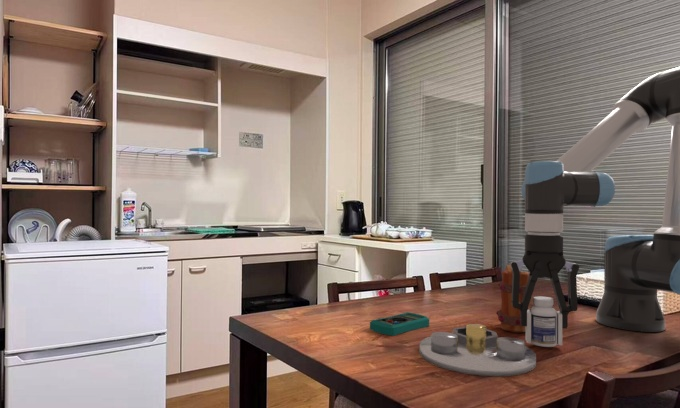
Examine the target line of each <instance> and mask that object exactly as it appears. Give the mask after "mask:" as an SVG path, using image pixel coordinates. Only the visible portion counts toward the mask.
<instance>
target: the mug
mask: <svg viewBox="0 0 680 408" xmlns="http://www.w3.org/2000/svg"><path fill="white" fill-rule="evenodd" d="M519 272H520V284H519V303H521V301H522V298H523V295H524V291H525V288H526V285H527V282H528V277H529V274H530V272H528V271H522V270H521V271H519ZM512 274H513V271H512V269H511V266H510V264H506V266H505V270H503V271H502V275H501V276H502V278H501V281H500V282H499V283H498V285H497V286H498V287H499V290H500V293H501V294H500V296H501V309H499V310H497V311H496V312H495V313H496V315H497V317H498V319H497V320H498V321H499V322H500V328H501V329H502V330H503V331H506V332H508V333H509V332H510V333H515V334H516V333H517V334H519V333H520V334H522V333H525V326H522V325H521V323H520V310H519V309H517V308H514V307H513V306H512V304H511V299H512ZM534 291H535V289H534V290H533V292H534ZM530 303H531V302H530ZM530 303H529V307H528V310H530Z"/></svg>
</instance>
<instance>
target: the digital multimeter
mask: <svg viewBox="0 0 680 408" xmlns="http://www.w3.org/2000/svg"><path fill="white" fill-rule="evenodd" d="M428 327H430V318H429V317H428V316H426V315H422V314H418V313H414V312H413V313H412V312H402V313H399V314H395V315H391V316H386V317H382V318H377V319H372V320H371V321H369V330H370V331H372V332H375V333H378V334H380V335H381V334H382V335H387V336H389V337H390V336H391V337H395V336H397V335H401V334H405V333H407V332H411V331H415V330H419V329H424V328H428Z"/></svg>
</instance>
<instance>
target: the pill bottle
mask: <svg viewBox="0 0 680 408" xmlns="http://www.w3.org/2000/svg"><path fill="white" fill-rule="evenodd" d="M532 298H533V300H532V301H533V303H532V304H533V306H532V307H531V308H529V310H530V312H531V343H530V344H532V345H534V346H538V347H544V348H552V347H556V346H558V344H557V310H556V309H555V308H554V307H553V306H554V305H555V303H554V302H555V301H554V298H553V297H550V296H540V295H539V296H533V297H532Z"/></svg>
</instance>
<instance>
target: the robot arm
mask: <svg viewBox="0 0 680 408" xmlns="http://www.w3.org/2000/svg"><path fill="white" fill-rule="evenodd" d="M662 120H663V121H666V122H667V123H668V124H669V125H670V126H671V137H670V148H669V155H668V156H669V157H668V167H667V177H666V185H665V195H664V196H665V197H664V205H663V213H662V214H663V215H662V221H661V222H662V223H661V227H659V228H658V229H656V230H655V231H654V232H653V233H652V234H627V235H614V236H610V237H608V238H607V239H606V240H605V248H604V251H603V252H604V253H603V254H604V255H603V256H604V257H603V258H604V259H603V260H604V262H603V263H604V264H603V266H604V267H603V268H604V270H603V271H604V272H603V273H604V280H603V281H604V282H603V283H604V286H603V287H604V290H603V295H602V298H601V300H600V303H599V305H598V307H597V310H596V312H595V314H596V315H595V317H596V318H595V320H596V322H597V323H598V324H601V325H603V326H607V327H609V328H613V329H619V330H625V331H631V332H644V333H645V332H647V333H657V332H663V331H665V330H666V319H665V317H664V313H663V311H662V307H661V305H660V302H659V299H658V291H662V292H668V293H672V294H676V295H679V296H680V66H678V67H675V68H671V69H667V70H664V71H660V72H657V73H655V74H653V75H651V76H649V77H648V78H646V79H644V80H643V81H642V82H640V83H639V84H638V85H636V86H635V87H634V88H632V89H631V90H630V91H628V92H627V93H626V94H625V95H624V96H623V97H621V98H620V99H619V100H618V101H616V103H615V104H613V105H612V109H611V112H610V113H609V114H608V115H607V116H606V117H605V118H603V119H602V120H601V121H600V122H599V123H597V125H595V126H594V127H593V128H592V129H591V130H589V132H588V133H586V134H585V135H584V136H583V137H582V138H581V139H580V140H578V141H576V143H575V144H574V145H573V146H572V147H570V148H569V149H568V150H567V151H566V152H565V153H563V154H562V155H561V156H560V157H559V158H558V159H556V160H539V161H538V160H537V161H532V162H528V163H527V165H526V166H525V171H524V180H523V181H524V182H523V183H522V185H521V191H520V192H521V197H522V198H523V201H524V210H525V211H524V212H525V213H524V214H525V215H524V231H525V232H526V233H527V234H525V235H524V254H523V257H522V258H521V259H519V260H515V261H514V260H512V261H511V260H510V262H509V265H510V266H511V269H512V271H513V274H512V299H511V304H512V306H513V307H514V308H517V309H519V310H520V323H521V325H522V326H525V332H524V333H525V338H524V339H525V340H524V341H526V343H527V344H532V343H531V312H530V309H529V310H528V307H529V308H530V305H529V303H531V300H532V298H533V297H532V296H533V293H534V291H535V286H536V283H537V281H538V279H539V278H540V279H542V278H546V279H547V278H548V279H550V282H551V285H552V289H553V291H554V294H555V298H556V302H557V305H558V309H559V310H558V311H557V310H556V311H557V346H563V329H565V330H567V328H568V326H569V325H568V322H569V320H568V319H569V318H568V317H569V316H568V315H569V314H570V312H577V311H578V308H579V307H578V286H577V279H578V278H577V276H578V272H579V269H580V266H579V264H577V263H575V262H570V261H567V260H566V258H565V256H564V236H563V235H561V234H562V233H563V232H564V207H592V208H595V207H600V206H601V207H602V206H606V205H608V204H610V203H611V201H612V200H614V199H613V198H614V197H615V194H616V191H615V190H616V188H615V187H616V184H615V181H614V178H612V176H610V175H609V174H608V173H605V172H599V171H598V172H597V171H595V170H594V169H595V168H596V167H598V166H599V165H600V164H601V163H602V162H603V161H605V160H606V159H607V158H608V157H609V156H610V155H611V154H613V153H614V152H615V151H616V150H617V149H618V148H619V147H621V145H623V144H624V143H625V142H626V141H627V140H628V139H629V138H631V137H632V135H634V134H635V133H638V132H639V133H640V132H642V131H644V130H646V129H648V127H649V126H650V125H652V124H655V123H656V122H659V121H662ZM593 170H594V171H593ZM523 266H525V268H526V269H527V270H528V271H529V277H528V282H527V285H526V288H525V291H524V295H523V298H522V301H521V303H519V284H520V272H519V271H521V272H522V270H523ZM564 267H565V271H566V272H567V273H566V274H567V276H566V277H567V302H566V299H565V295H564V293H563V289H562V286H561V282H560V278H559V272H560V271H561V270H562V269H563V268H564ZM533 290H534V291H533ZM567 303H568V304H567Z"/></svg>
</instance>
